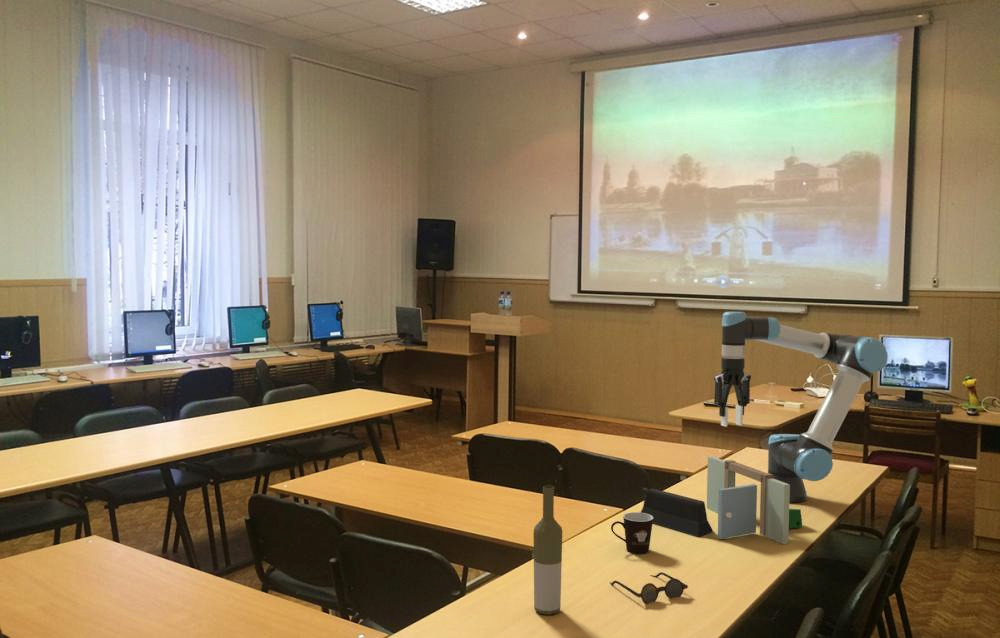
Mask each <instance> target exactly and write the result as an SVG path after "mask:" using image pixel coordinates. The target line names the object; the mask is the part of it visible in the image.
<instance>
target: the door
mask: <svg viewBox="0 0 1000 638" xmlns="http://www.w3.org/2000/svg"><path fill="white" fill-rule="evenodd" d="M757 500H758V485H757V484H746V485H738V486H735V487H731V488H724V489H719V502H718V513H717V514H718V515H717V539H720V540H723V539H729V538H735V537H740V536H741V537H742V536H746V535H751V534H756V533H757V509H758V508H757V507H758V506H757V502H758V501H757Z"/></svg>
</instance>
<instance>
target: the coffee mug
mask: <svg viewBox="0 0 1000 638" xmlns="http://www.w3.org/2000/svg"><path fill="white" fill-rule="evenodd" d="M640 512H641V511H640ZM640 512H639V511H636V512H635V511H633V512H626V513H624V514H623V516H622V519H623V522H622V521H619V520H617V521H614V522H612V524H611V525H610V526H611V527H610V530H611V532H612V534H614V536H615V537H617V538H619V539H620V540H621V541H623V542H624V543H625V548H626V551H627V552H628V553H630V554H633V555H646V554H648V553H650V552H649V551H650V544H651V536H652V530H653V524H652V523H653V516H651V515H649V514H646V513H640ZM617 524H620V525H621V526H622V527H623V529H624V536H625V537H622V536H620V535H618V534H617V533H616V532H615V530H614V526H615V525H617Z"/></svg>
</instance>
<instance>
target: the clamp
mask: <svg viewBox="0 0 1000 638" xmlns="http://www.w3.org/2000/svg"><path fill="white" fill-rule="evenodd" d="M802 526H803V519H802V509H798V508H797V509H796V508H789V530H790V529H799V528H801V527H802Z"/></svg>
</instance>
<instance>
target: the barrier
mask: <svg viewBox="0 0 1000 638" xmlns="http://www.w3.org/2000/svg"><path fill="white" fill-rule="evenodd" d="M705 503H706V502H705V501H703V500H700V499H697V498H692V497H687V496H683V495H679V494H676V493H672V492H669V491H664V490H660V489H656V488H650V489H646V490H645V493H644V500H643V505H642V508H641V510H640V513H646V514H649V515H651V516H653V523H652V525H653V526H654V525H655V526H658V527H662V528H664V529H668V530H671V531H675V532H678V533H682V534H685V535H688V536H691V537H693V538H700V537H704V536H706V535H708V534H709V535H710V534H711V533H714V530H713V528H712V526H711V523H709V520H708V515H707V510H706V509H707V508H706V504H705Z"/></svg>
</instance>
